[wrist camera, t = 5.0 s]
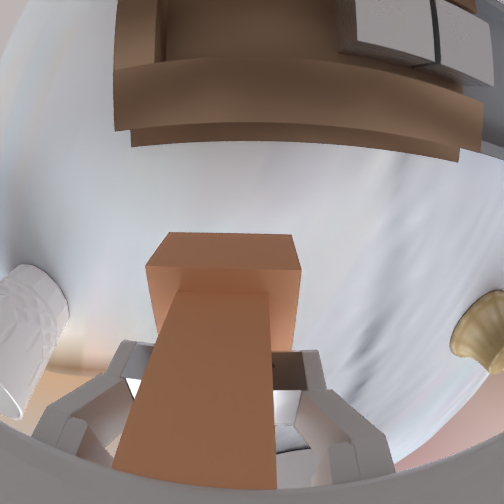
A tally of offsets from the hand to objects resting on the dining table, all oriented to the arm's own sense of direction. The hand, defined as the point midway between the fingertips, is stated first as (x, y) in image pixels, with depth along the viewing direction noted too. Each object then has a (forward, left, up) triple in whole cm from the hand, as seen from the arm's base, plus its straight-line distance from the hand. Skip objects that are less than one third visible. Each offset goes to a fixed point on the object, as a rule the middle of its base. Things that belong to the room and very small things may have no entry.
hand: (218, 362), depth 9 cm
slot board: (+13, -4, -10) cm, 17 cm away
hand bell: (-9, -24, -10) cm, 28 cm away
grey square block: (+13, -12, -9) cm, 19 cm away
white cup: (-5, +17, -10) cm, 20 cm away
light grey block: (+13, -7, -9) cm, 17 cm away
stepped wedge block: (0, 0, -5) cm, 5 cm away
